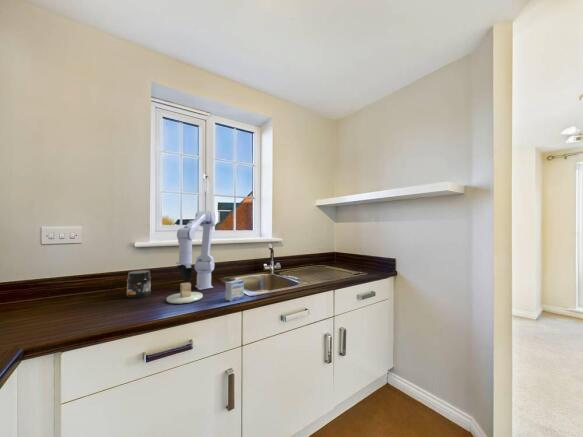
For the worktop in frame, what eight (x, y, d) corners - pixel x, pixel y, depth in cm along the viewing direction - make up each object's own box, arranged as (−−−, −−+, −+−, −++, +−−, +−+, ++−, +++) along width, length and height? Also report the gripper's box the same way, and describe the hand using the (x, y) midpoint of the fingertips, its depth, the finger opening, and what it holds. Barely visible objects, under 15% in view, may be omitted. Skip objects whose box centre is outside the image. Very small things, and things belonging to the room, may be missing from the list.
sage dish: (164, 298, 120) (164, 295, 120) (198, 293, 130) (198, 290, 130) (169, 307, 107) (169, 303, 107) (206, 300, 116) (206, 297, 116)
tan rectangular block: (180, 296, 119) (180, 283, 119) (189, 294, 121) (189, 282, 122) (182, 297, 116) (182, 285, 116) (190, 296, 118) (191, 284, 118)
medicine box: (231, 302, 115) (231, 283, 115) (225, 300, 117) (225, 282, 118) (244, 298, 121) (244, 280, 121) (238, 296, 124) (238, 279, 124)
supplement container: (122, 296, 123) (122, 272, 124) (143, 291, 133) (143, 269, 133) (134, 299, 118) (134, 274, 119) (155, 294, 128) (155, 271, 128)
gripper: (174, 251, 123) (173, 279, 122) (179, 254, 111) (179, 285, 110) (188, 251, 127) (188, 277, 126) (195, 253, 115) (195, 282, 114)
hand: (185, 280), depth 119 cm, fingers open, 7 cm apart
